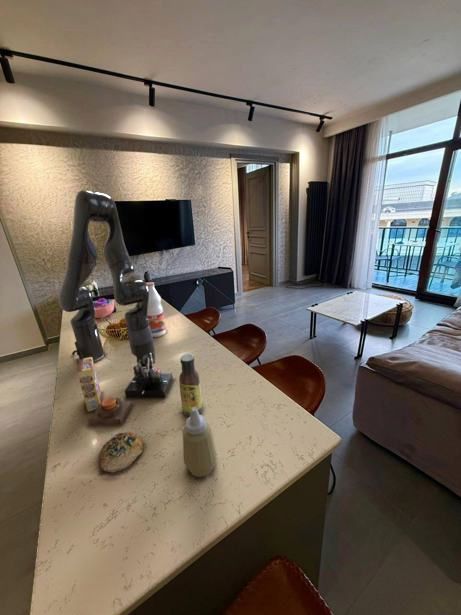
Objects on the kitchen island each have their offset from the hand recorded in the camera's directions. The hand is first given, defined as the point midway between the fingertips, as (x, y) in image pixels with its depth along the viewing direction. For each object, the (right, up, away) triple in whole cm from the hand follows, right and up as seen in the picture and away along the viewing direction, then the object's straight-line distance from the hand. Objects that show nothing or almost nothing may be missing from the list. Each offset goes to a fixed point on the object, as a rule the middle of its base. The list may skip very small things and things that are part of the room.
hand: (149, 380), depth 92 cm
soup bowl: (-54, +21, +74) cm, 94 cm away
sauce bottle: (+17, -7, -10) cm, 21 cm away
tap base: (0, -3, +1) cm, 3 cm away
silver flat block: (0, 0, 0) cm, 0 cm away
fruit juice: (-10, +12, +45) cm, 48 cm away
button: (-9, -5, -12) cm, 15 cm away
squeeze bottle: (+22, -13, -29) cm, 39 cm away
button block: (-9, -8, -10) cm, 16 cm away
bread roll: (+1, -13, -24) cm, 27 cm away
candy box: (-17, -6, -4) cm, 19 cm away
